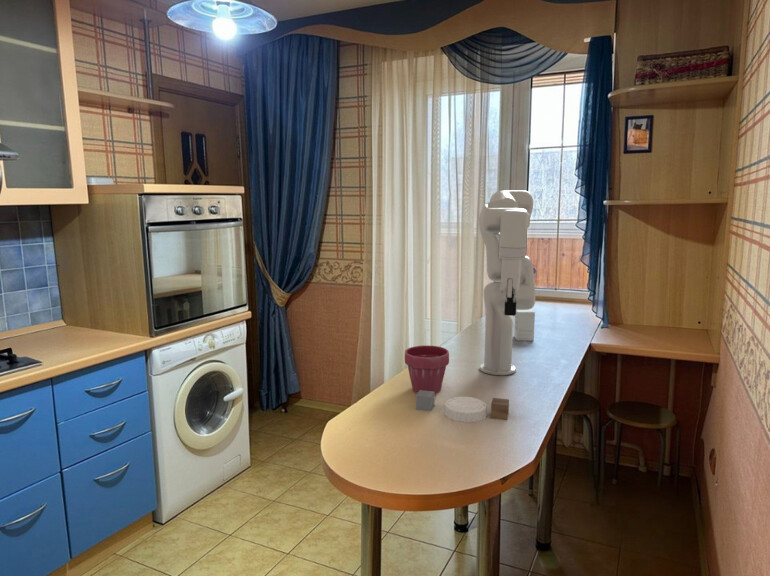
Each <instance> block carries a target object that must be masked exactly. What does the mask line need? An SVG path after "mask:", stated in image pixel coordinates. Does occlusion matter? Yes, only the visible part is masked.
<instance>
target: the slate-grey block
mask: <svg viewBox="0 0 770 576" xmlns="http://www.w3.org/2000/svg"><path fill="white" fill-rule="evenodd" d="M435 394H436V393H435V392H433V391H424V390H419V392H418V393H417V392H416V395H415V410H416V411H423V412H432V411H433V409H434V407H435Z"/></svg>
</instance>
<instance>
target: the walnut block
mask: <svg viewBox="0 0 770 576" xmlns="http://www.w3.org/2000/svg"><path fill="white" fill-rule="evenodd" d="M509 408H510V399H509V398H500V397H499V398H498V397H492V400H491V404H490V419H492V420H499V421H500V420H501V421H508V417H509V413H510V412H509V411H510V409H509Z"/></svg>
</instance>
